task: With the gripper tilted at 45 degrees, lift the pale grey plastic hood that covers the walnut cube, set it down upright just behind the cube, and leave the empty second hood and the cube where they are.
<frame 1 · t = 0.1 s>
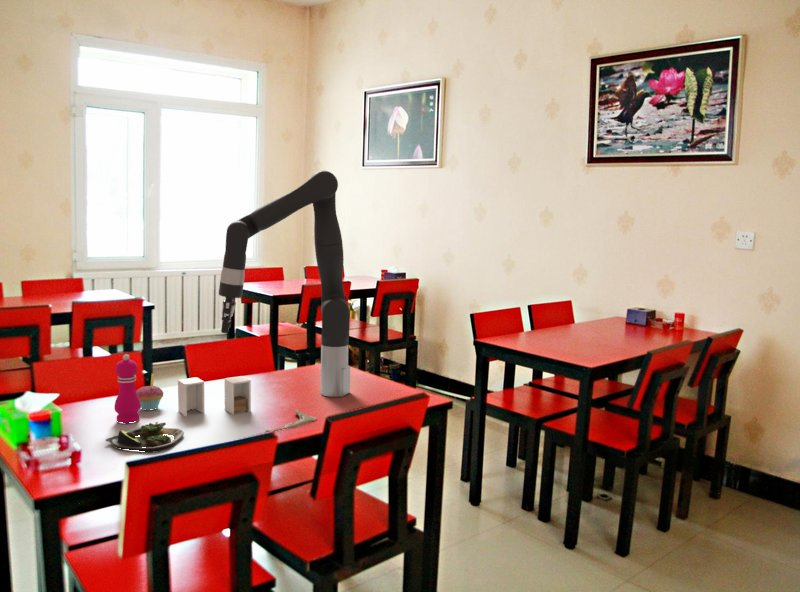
hand: (225, 330, 227), 22 cm above the table, tool pointing down, fingers open, 8 cm apart
jawbone: (284, 425, 205), on the table
walnut cube: (237, 404, 216), in the hood cube
cupcake: (149, 409, 215), on the table
hood cube: (237, 410, 216), on the table
pepper mill: (128, 421, 204), on the table
hood empty: (191, 412, 213), on the table
salad plate: (146, 443, 187), on the table
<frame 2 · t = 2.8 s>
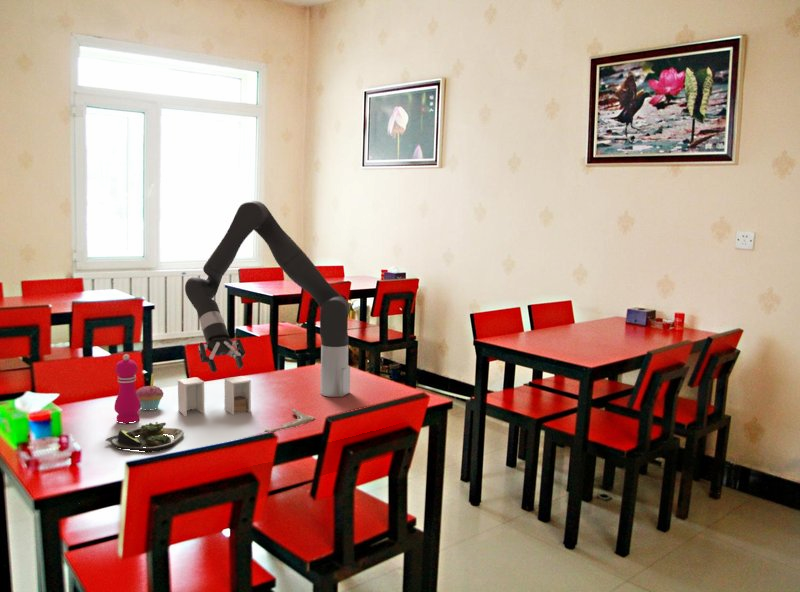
hand: (228, 369, 220), 11 cm above the table, tool tilted 45°, fingers open, 8 cm apart
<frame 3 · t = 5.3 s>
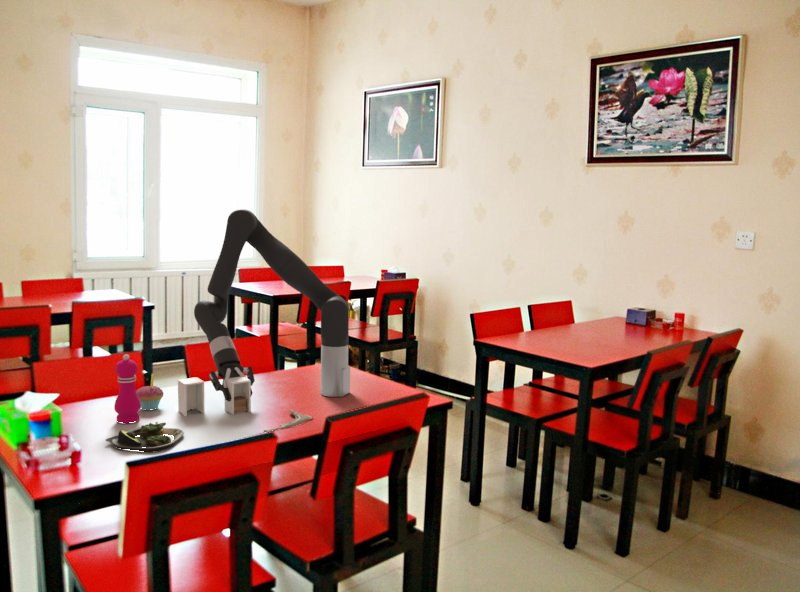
hand: (239, 398, 214), 4 cm above the table, tool tilted 45°, fingers closed on hood cube, 6 cm apart
hood cube: (237, 410, 216), on the table, touching gripper
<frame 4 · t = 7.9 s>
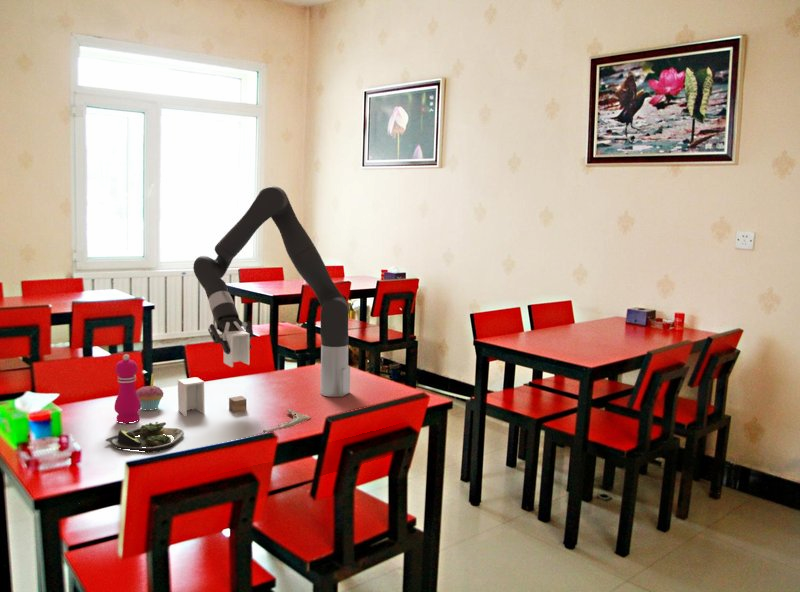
hand: (238, 351, 216), 18 cm above the table, tool tilted 45°, fingers closed on hood cube, 6 cm apart
hood cube: (236, 363, 217), point 14 cm above the table, touching gripper
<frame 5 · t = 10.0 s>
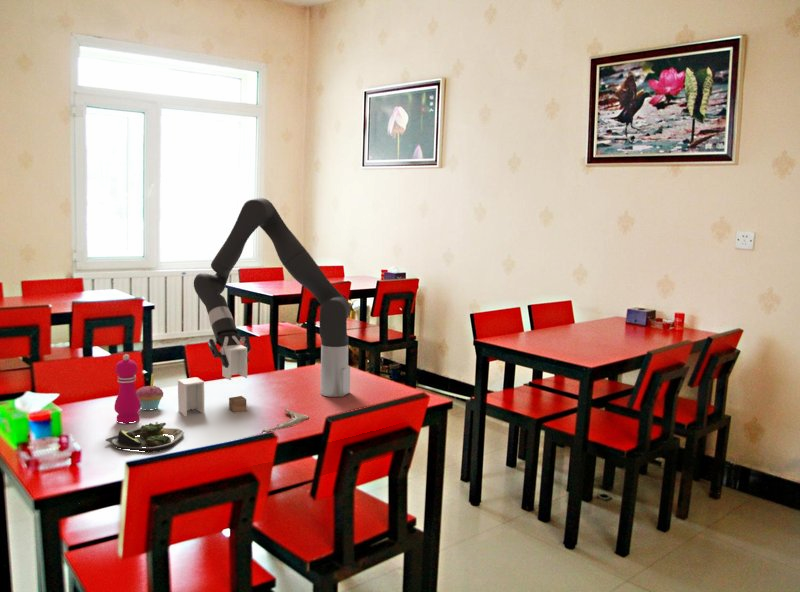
hand: (236, 365, 224), 12 cm above the table, tool tilted 45°, fingers closed on hood cube, 6 cm apart
hood cube: (234, 376, 226), point 8 cm above the table, touching gripper
when the fingers open (6 cm above the table, at t = 11.9 s): hood cube drops 1 cm, on the table.
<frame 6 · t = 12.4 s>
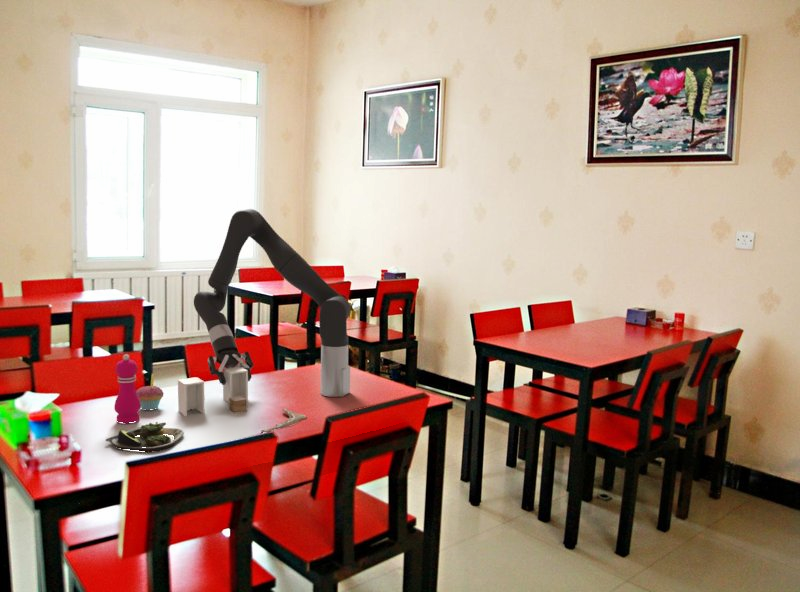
hand: (236, 381, 225), 6 cm above the table, tool tilted 45°, fingers open, 8 cm apart
hood cube: (235, 399, 227), on the table
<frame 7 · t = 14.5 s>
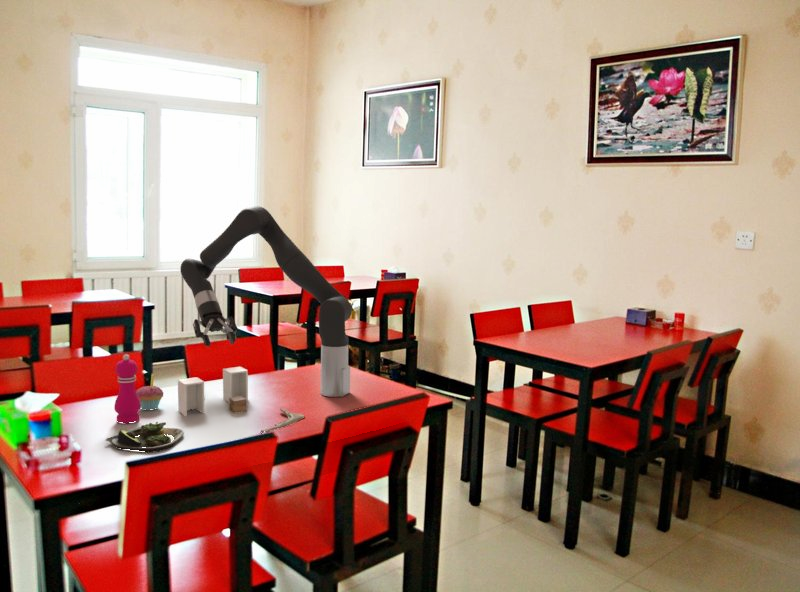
hand: (221, 344, 234), 16 cm above the table, tool tilted 45°, fingers open, 8 cm apart
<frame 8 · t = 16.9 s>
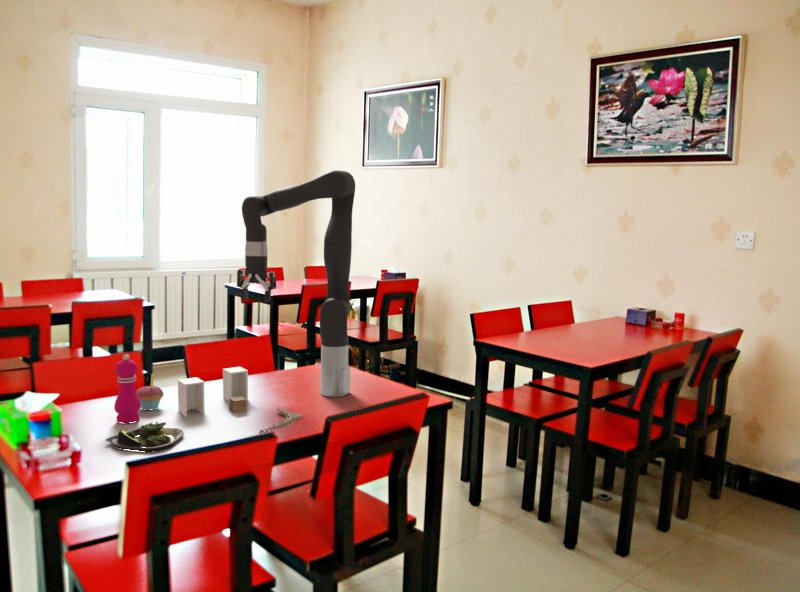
hand: (256, 300, 242), 30 cm above the table, tool pointing down, fingers open, 8 cm apart
at the end: hood cube inside the target area (0.0 cm from its centre), on the table; hood cube tilted 0°; walnut cube moved 0.1 cm from its start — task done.
